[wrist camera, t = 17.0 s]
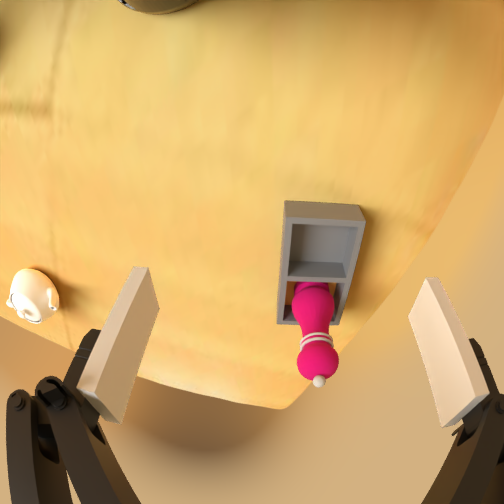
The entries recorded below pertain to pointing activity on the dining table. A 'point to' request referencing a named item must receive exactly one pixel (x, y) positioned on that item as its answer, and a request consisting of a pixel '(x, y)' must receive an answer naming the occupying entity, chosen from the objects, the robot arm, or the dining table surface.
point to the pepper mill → (315, 331)
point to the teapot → (33, 296)
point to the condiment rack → (318, 252)
